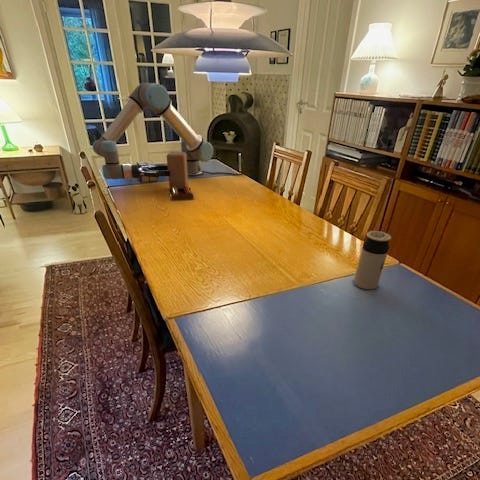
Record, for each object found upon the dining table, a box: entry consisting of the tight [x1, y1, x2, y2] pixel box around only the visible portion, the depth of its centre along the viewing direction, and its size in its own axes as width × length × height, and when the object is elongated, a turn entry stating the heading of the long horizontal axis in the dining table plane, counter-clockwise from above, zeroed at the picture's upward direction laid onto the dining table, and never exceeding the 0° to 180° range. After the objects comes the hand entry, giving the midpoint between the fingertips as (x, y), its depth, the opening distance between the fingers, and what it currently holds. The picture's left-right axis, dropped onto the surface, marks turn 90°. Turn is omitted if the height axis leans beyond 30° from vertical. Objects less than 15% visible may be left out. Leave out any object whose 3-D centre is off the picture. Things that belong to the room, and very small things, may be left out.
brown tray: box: [169, 185, 194, 201], centre depth 195 cm, size 12×14×4 cm
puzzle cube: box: [136, 160, 158, 183], centre depth 220 cm, size 10×10×10 cm
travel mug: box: [353, 230, 392, 290], centre depth 114 cm, size 8×8×18 cm
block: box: [166, 151, 189, 190], centre depth 201 cm, size 10×10×20 cm
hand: (169, 170), depth 200 cm, fingers open, 13 cm apart
